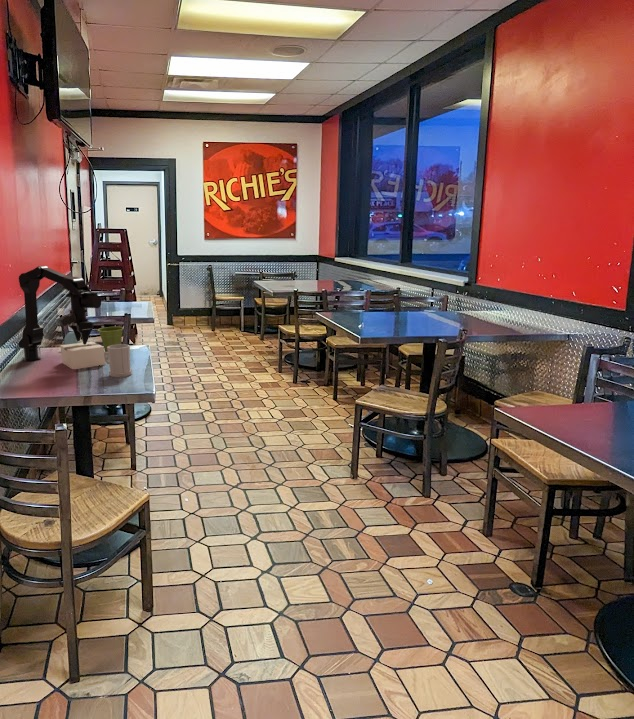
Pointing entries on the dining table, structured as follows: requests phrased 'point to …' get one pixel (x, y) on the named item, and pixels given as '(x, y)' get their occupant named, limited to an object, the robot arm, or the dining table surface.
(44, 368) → the dining table surface
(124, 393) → the dining table surface
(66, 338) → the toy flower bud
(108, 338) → the plant pot
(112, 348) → the cup
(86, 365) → the box
